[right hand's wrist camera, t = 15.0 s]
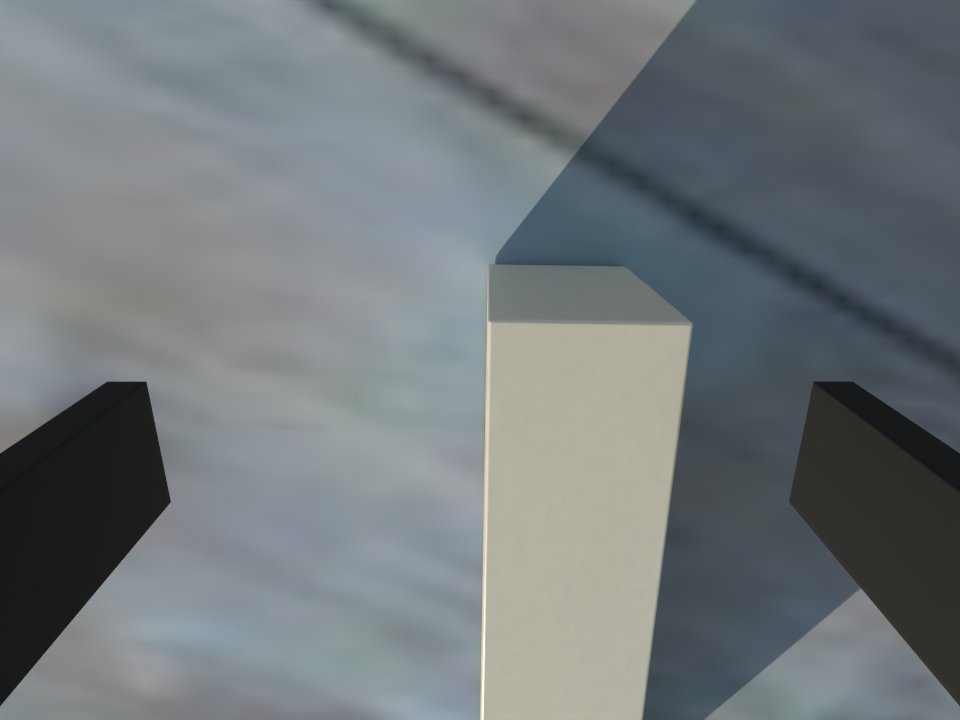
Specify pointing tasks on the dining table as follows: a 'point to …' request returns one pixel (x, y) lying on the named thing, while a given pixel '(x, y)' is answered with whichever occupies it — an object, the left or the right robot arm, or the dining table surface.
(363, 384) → the dining table surface
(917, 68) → the dining table surface
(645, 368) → the beam
